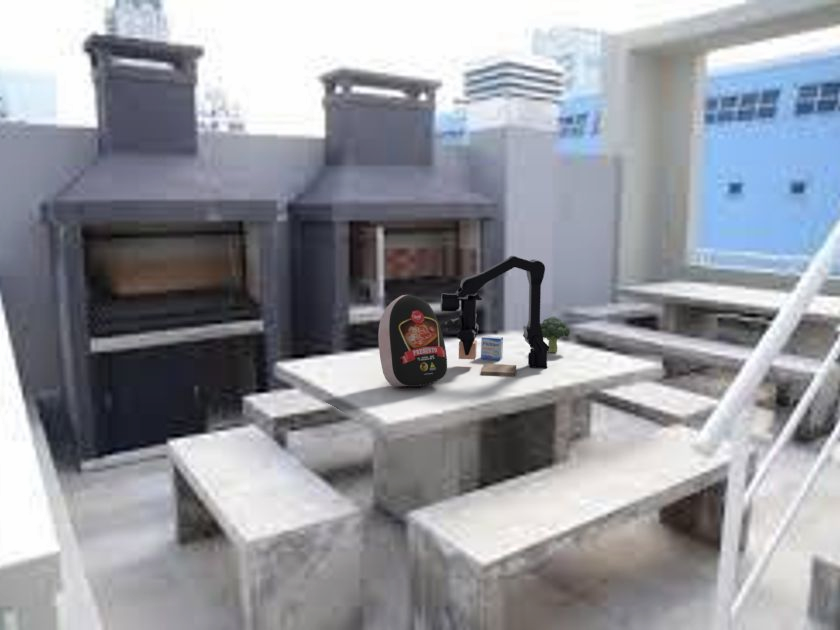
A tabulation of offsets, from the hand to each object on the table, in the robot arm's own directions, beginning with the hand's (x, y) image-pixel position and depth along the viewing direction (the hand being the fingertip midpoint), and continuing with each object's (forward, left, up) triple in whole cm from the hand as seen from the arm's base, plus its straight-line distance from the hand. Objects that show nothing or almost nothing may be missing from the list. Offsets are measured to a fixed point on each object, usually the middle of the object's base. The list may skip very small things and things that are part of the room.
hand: (467, 353), depth 254 cm
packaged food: (+16, +29, -5) cm, 34 cm away
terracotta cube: (0, 0, -2) cm, 2 cm away
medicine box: (-8, -15, -5) cm, 18 cm away
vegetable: (-32, -31, -5) cm, 45 cm away
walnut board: (-12, +5, -5) cm, 14 cm away
